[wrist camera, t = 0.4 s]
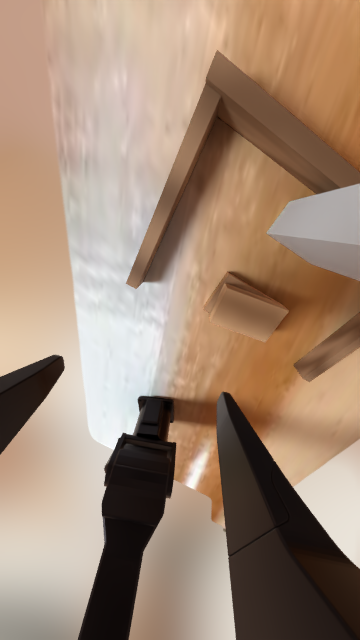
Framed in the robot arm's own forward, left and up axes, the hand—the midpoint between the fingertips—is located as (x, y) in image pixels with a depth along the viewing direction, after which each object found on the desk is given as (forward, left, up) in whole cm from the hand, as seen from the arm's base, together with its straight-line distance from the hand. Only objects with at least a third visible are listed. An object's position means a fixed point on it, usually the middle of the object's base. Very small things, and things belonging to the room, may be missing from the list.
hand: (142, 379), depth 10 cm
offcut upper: (-1, -9, -12) cm, 15 cm away
